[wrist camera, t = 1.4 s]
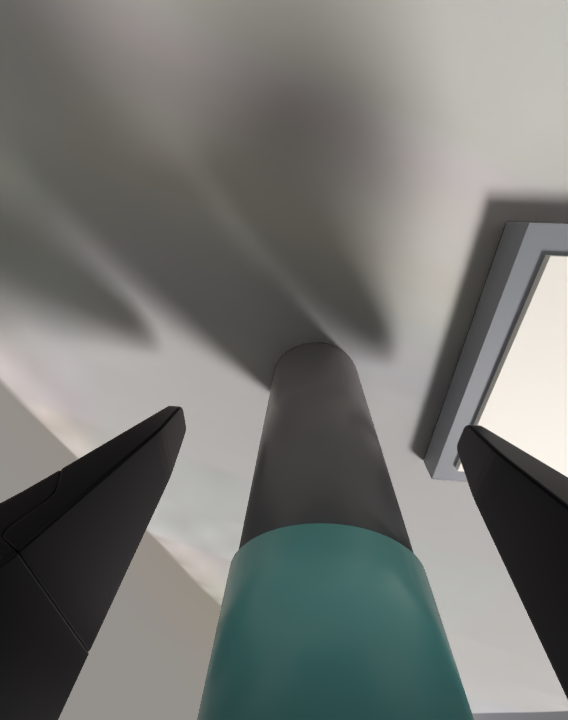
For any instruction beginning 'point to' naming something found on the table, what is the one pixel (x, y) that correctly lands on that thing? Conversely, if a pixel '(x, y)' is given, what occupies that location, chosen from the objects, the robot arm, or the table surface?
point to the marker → (327, 572)
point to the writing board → (514, 355)
